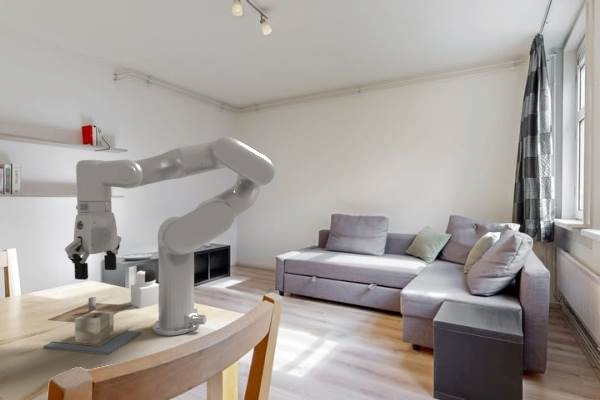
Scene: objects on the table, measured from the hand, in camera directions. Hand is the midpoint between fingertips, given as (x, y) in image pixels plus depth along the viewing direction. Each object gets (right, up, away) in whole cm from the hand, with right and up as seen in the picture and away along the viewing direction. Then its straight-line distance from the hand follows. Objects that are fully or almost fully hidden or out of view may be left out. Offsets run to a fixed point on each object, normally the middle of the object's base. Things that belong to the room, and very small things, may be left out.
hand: (96, 274), depth 86 cm
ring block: (-1, -17, 0) cm, 17 cm away
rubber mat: (-1, -17, 0) cm, 17 cm away
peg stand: (-13, -17, +18) cm, 28 cm away
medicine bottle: (0, -17, +27) cm, 32 cm away
